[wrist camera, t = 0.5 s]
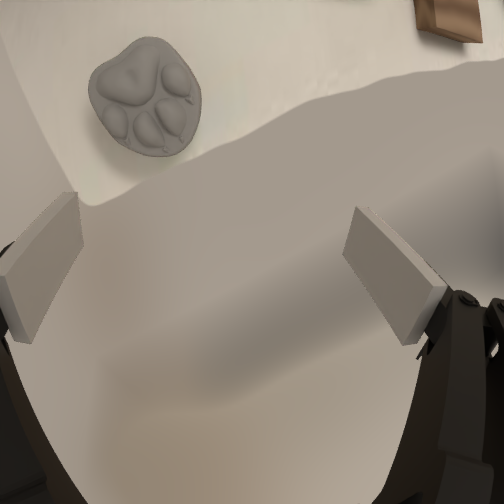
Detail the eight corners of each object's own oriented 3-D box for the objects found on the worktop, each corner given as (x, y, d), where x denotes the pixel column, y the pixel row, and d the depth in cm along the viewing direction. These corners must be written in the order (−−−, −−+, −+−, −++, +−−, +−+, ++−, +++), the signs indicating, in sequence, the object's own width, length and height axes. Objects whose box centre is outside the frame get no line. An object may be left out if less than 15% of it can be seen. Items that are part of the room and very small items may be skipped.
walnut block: (408, -27, 26) (427, -34, 22) (455, -10, 27) (475, -13, 22) (415, 29, 31) (436, 26, 27) (461, 42, 32) (482, 43, 28)
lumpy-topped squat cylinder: (168, 35, 29) (158, 21, 22) (221, 119, 36) (224, 128, 28) (97, 82, 31) (70, 84, 23) (150, 162, 37) (136, 183, 30)
